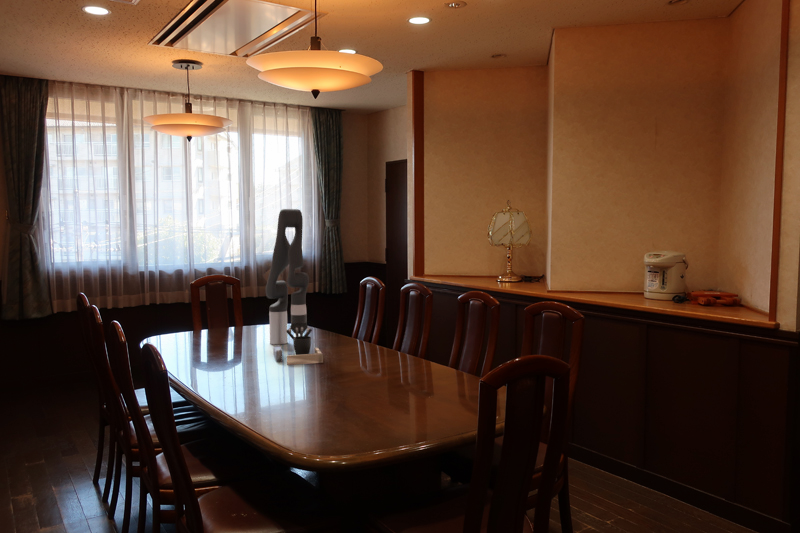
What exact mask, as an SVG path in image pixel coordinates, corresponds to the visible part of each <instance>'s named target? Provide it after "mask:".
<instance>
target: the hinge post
mask: <svg viewBox="0 0 800 533" xmlns="http://www.w3.org/2000/svg"><path fill="white" fill-rule="evenodd" d="M276 358H277V360H276V363H283V350H282V349H281V350H276Z"/></svg>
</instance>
